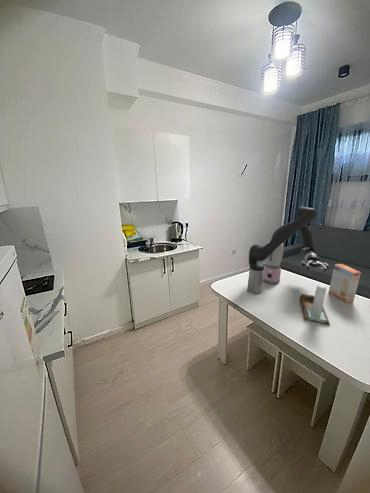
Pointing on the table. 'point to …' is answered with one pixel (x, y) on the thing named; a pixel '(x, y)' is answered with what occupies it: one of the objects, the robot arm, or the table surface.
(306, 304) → the rail board
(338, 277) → the cracker box
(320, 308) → the keeper
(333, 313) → the table surface
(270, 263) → the blender
